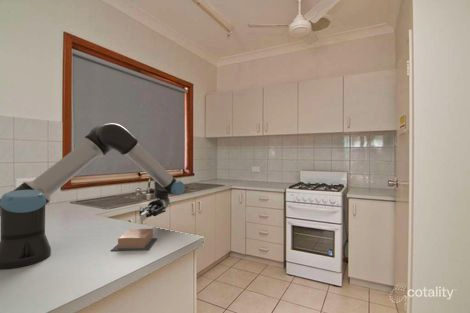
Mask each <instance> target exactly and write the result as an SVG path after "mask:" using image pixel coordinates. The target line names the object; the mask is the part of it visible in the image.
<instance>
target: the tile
mask: <svg viewBox="0 0 470 313" xmlns="http://www.w3.org/2000/svg"><path fill="white" fill-rule="evenodd" d="M152 238H154V228H129V229H128V230H127V231H125V232H124V233H123V234H122V235H120V236H119V237H118V238H117V244H118V249H122V248H145V247H146V246H147V244H148V243H149V242H150V241H151V240H152Z"/></svg>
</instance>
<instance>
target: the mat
mask: <svg viewBox="0 0 470 313" xmlns="http://www.w3.org/2000/svg"><path fill="white" fill-rule="evenodd" d="M157 240H158V238H156V237H153V238H152V240H151V241H150V242H149V243H148V244H147V246H146V247H145V248H122V249H118V243H117V244H116V245H115V246H114V247H113V248H111V249H110V252H127V251H128V252H129V251H131V252H132V251H134V252H135V251H136V252H137V251H150V249H151V248H152V246H154V244H155V242H157Z"/></svg>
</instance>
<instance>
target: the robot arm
mask: <svg viewBox="0 0 470 313" xmlns="http://www.w3.org/2000/svg"><path fill="white" fill-rule="evenodd" d="M111 150H114V151H117V152H118V153H119V154H120V155H122V156H126V157H127V158H129V159H130V160H131V161H132V162H133V163H134V164H135V165H136V166H138V167H139V168H140V169H141V170H142V171H143V172H144V173H145V174H147V175H148V177H149V176H150V178H151V179H152V180H154V182H153V183H154V199H153V200H152V201H150V202H149V203H148V204H147V206H145V207H144V206H140V207H139V221H140V222H143V221H145V220H146V219H148V218H150V217H152V216H153V217H156V216H159V215H160V214H164V213H166V208H168V207H169V205H170V201H171V200H170V198H169V195H172V196H180V195H182V194H183V193H184V191H185V184H184V182H183V181H181V180H177V179H176V178H175V177H174V176H173V175H171V173H170V172H168V170H166V168H164V167H163V166H162V165H161V164H160V163H159V162H158V161H157V160H156V159H155V158H154V157H153V156H152V155H151V154H150V153H149V152H148V151H146V150H145V149H144V148H143V146H142V145H140V144H139V140H138V139H137V138H136V137H135V135H133V134H132V133H131V132H130V131H128V129H126V128H125V127H123V126H122V125H120V124H119V123H113V122H112V123H105V124H102V125H97V126H95V127H93V128H92V129H91V130H90V132H88V134H87V135H85V136H84V137H82V142H81V143H80V144H79V145H78V146H77V147H75V148H74V149H72V151H70V152H69V153H68V154H65V156H64V157H62V158H61V159H59V161H57V162H56V163H54V164H53V165H51V167H49V168H47V170H46V171H43V173H41V174H40V175H38V176H37V177H36V178H35V179H33V180H32V181H23V183H21V184H20V185H19V186H17V187H16V188H15V189H13V190H11V191H8V192H6V193H3V194H2V196H1V197H0V270H1V269H3V270H6V269H15V268H21V267H26V266H29V265H33V264H36V263H40V262H42V261H43V260H45V259H47V258H49V257H50V256H51V254H52V248H51V245H50V243H49V241H48V240H49V239H48V237H47V235H46V205H47V204H49V203H50V202H51V197H52V195H54V193H57V191H58V190H59V189H61V187H64V186H65V185H66V183H68V182H69V181H70V180H71V179H73V178H74V177H75V176H76V175H77V174H78V173H80V172H81V171H82V170H83V169H85V168H86V167H87V166H88V165H89V164H90V163H92V162H93V161H94V160H96V158H98V157H99V158H100V157H101V158H102V157H104V156H105V155H107V153H109V152H110V151H111Z"/></svg>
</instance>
